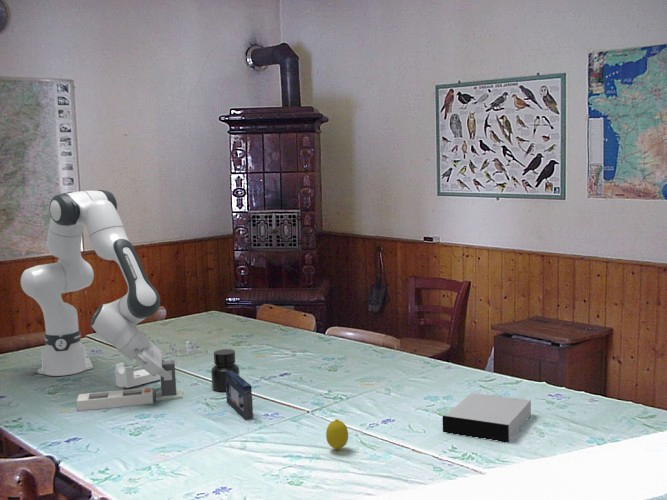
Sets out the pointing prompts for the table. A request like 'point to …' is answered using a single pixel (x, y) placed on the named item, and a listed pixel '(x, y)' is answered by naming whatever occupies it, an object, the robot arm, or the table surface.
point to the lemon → (337, 434)
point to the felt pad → (178, 395)
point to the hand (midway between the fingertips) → (170, 373)
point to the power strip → (115, 399)
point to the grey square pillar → (169, 385)
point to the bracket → (132, 376)
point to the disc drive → (487, 417)
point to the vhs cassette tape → (239, 395)
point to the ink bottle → (223, 368)
